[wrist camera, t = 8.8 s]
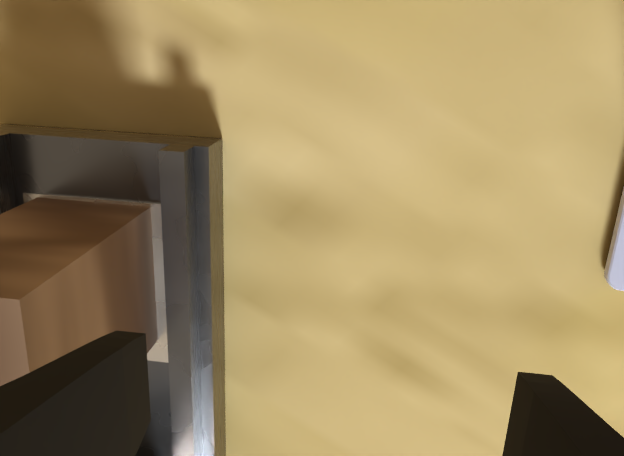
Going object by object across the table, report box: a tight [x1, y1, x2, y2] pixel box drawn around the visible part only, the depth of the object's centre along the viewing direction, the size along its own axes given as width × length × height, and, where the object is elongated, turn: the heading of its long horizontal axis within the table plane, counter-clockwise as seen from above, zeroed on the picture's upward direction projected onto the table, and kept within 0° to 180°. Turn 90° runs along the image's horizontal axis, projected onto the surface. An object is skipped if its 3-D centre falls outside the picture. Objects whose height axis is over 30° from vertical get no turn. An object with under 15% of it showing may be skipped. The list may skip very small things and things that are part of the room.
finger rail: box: [0, 124, 226, 456], centre depth 19 cm, size 8×20×8 cm, turn 178°
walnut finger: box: [0, 197, 158, 386], centre depth 17 cm, size 4×6×7 cm
